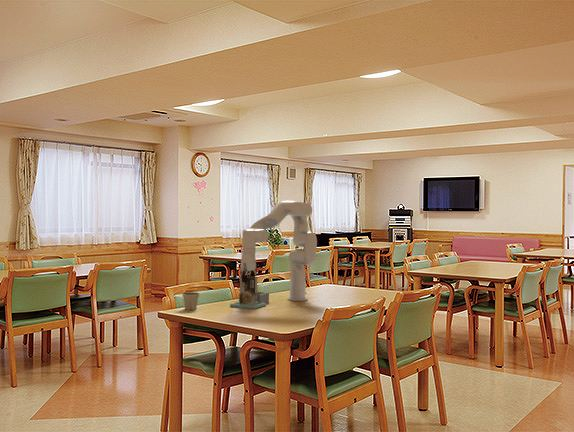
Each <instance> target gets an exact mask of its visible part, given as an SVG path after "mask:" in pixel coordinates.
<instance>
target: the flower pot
mask: <svg viewBox="0 0 574 432" xmlns="http://www.w3.org/2000/svg"><path fill="white" fill-rule="evenodd" d="M199 296H200V292H196V291H195V292H193V291H190V292H182V297H183V304H184V310H187V311H190V310H192V311H195V310H197V308H198V300H199ZM194 309H195V310H194Z"/></svg>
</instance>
